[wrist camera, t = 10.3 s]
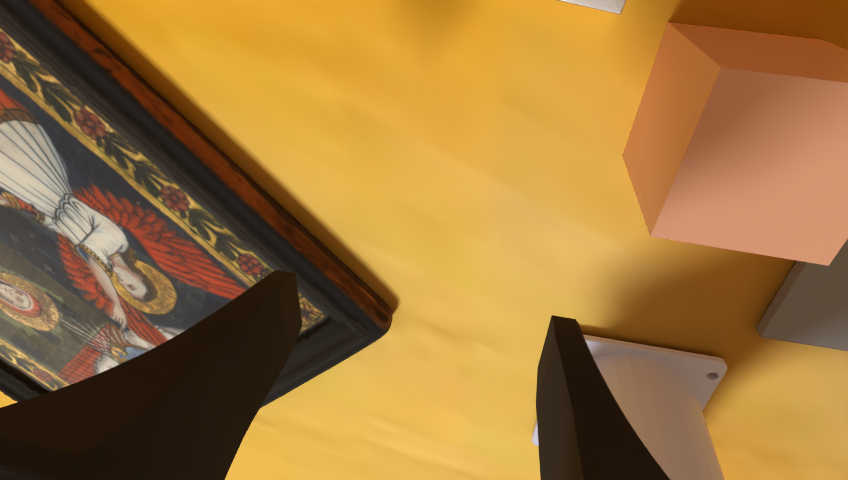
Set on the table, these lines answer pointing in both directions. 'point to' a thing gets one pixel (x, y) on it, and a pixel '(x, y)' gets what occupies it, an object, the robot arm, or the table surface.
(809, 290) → the grey board
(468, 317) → the table surface
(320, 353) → the framed painting
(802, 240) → the terracotta block
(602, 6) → the picture frame
